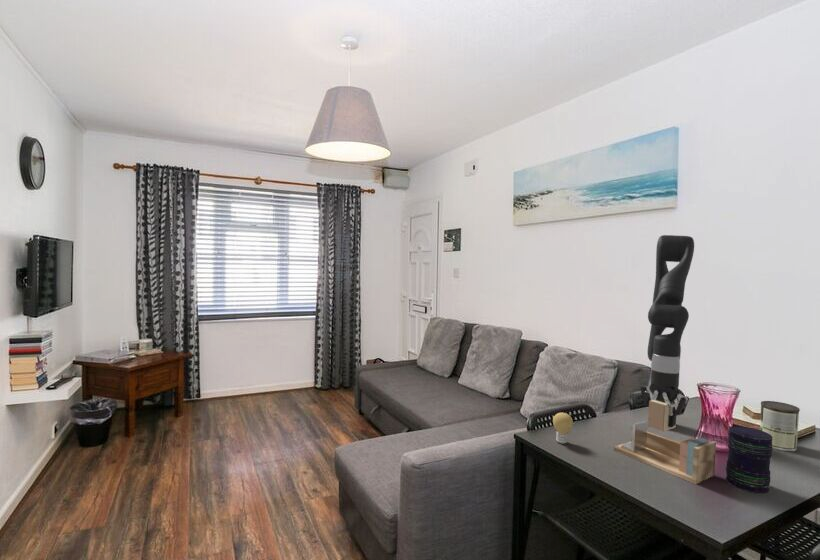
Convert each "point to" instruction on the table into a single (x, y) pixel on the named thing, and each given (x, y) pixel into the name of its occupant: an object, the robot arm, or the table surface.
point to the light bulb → (562, 426)
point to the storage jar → (749, 459)
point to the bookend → (637, 437)
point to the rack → (677, 456)
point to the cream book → (659, 415)
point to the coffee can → (780, 424)
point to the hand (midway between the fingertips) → (662, 423)
